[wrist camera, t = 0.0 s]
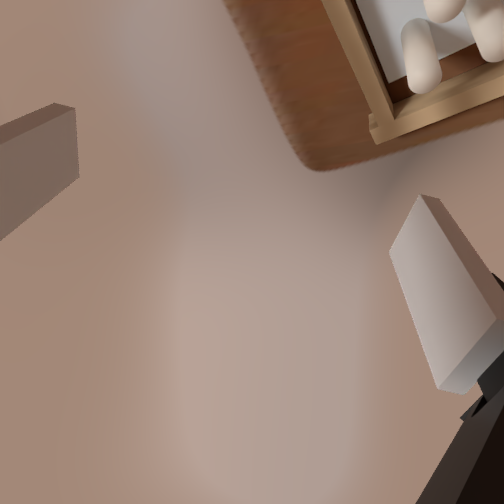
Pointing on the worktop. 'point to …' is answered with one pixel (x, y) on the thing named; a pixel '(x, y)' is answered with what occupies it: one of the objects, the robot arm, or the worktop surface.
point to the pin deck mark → (390, 26)
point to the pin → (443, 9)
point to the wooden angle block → (416, 106)
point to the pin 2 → (487, 27)
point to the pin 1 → (420, 56)
